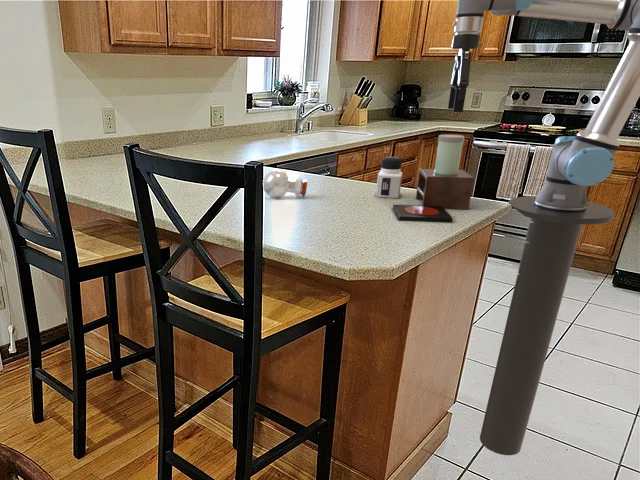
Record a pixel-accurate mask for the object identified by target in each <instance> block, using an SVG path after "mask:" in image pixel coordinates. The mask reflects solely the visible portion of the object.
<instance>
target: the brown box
mask: <svg viewBox="0 0 640 480" xmlns="http://www.w3.org/2000/svg"><path fill="white" fill-rule="evenodd" d="M434 169H435V168H419V172H418V179H417V186H416V187H417V188H416V193H415V199H416V200H422V204H421V205H425V206H442V207H443V208H444V209H445V210H469V209H470V203H471V197H472V191H473V187H474V180H475V177H474V176H472V175H471V174H470V173H468V172H467V171H466V170H464V169H458V174H456V175H441V174H436V173H434Z"/></svg>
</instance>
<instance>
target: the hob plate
mask: <svg viewBox="0 0 640 480" xmlns="http://www.w3.org/2000/svg"><path fill="white" fill-rule="evenodd" d="M392 209H393V211H394V214H395V216H396V217H397V219H398V221H400V222H401V221H405V222H431V223H453V217H452V216H451V214H450V213H449V212H448V211H447V209H444V208H443V207H442V206H425V205H422V204H392Z"/></svg>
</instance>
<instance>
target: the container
mask: <svg viewBox="0 0 640 480" xmlns="http://www.w3.org/2000/svg"><path fill="white" fill-rule="evenodd" d="M402 162H403V160H402V158H401V157H398V156H385V157H383V158H382V159H381V167H380V171H378V173H377V179H376V190H375V196H376V198H388V199H389V198H390V199H399V198H400V194H401V187H402V182H403V181H402V179H403V172H402V170H401V169H402Z"/></svg>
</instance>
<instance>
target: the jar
mask: <svg viewBox="0 0 640 480" xmlns="http://www.w3.org/2000/svg"><path fill="white" fill-rule="evenodd" d="M437 141H438V143H437V149H436V156H435V162H434V168H433V169H434V173H436V174H441V175H456V174H458V170H460V163H461V156H462V150H463V143H464V142H465V136H464V135H461V134H439V135H438V138H437Z"/></svg>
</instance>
